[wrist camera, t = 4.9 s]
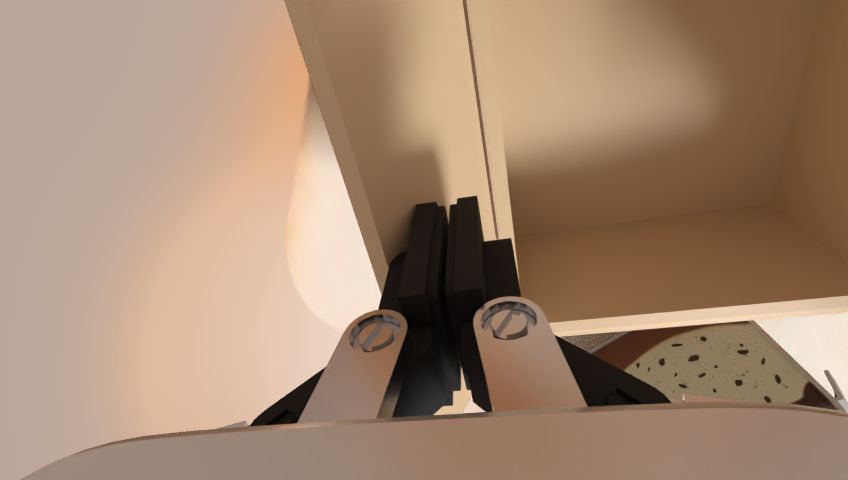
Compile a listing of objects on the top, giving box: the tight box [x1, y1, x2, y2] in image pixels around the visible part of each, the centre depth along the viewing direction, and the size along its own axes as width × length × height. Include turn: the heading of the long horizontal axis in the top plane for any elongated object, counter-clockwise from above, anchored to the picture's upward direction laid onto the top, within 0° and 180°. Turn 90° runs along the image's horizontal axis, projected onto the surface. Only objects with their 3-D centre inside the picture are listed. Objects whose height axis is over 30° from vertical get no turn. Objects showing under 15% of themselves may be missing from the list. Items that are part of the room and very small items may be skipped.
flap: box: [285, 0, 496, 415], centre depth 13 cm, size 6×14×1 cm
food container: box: [588, 320, 848, 412], centre depth 25 cm, size 12×6×10 cm, turn 138°
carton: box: [466, 0, 848, 337], centre depth 18 cm, size 15×17×8 cm
